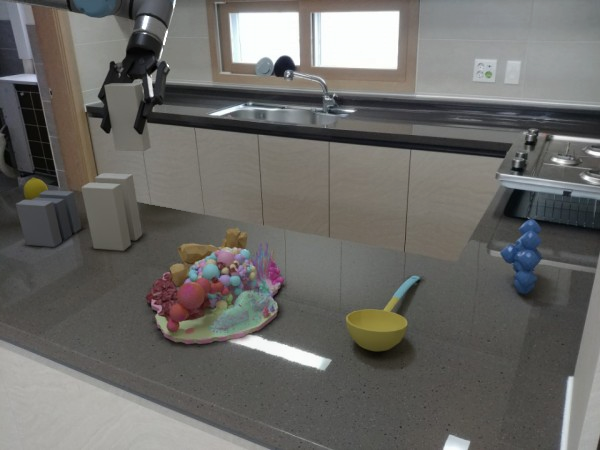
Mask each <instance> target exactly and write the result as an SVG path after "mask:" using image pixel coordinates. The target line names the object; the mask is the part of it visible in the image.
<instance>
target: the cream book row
mask: <svg viewBox="0 0 600 450" xmlns="http://www.w3.org/2000/svg"><path fill="white" fill-rule="evenodd" d="M94 179H95V182H88V183H86V184H84V185H83V186H81V193H82V198H83V202H84V207H85V208H84V209H85V214H86V218H87V223H88V227H89V228H88V229H89V233H90V238H91V242H92V247H93V249H94V250H95V249H96V250H107V251H121V252H124V251H125V250H127V249H128V248H129V247H130V246H132V243H131V241H133V242H134V241H137V240H138V239H140V238H141V237H142V236H143V230H142V224H141V217H140V212H139V206H138V199H137V194H136V188H135V181H134V174H132V173H131V174H130V173H111V172H102V173H100V174H99V175H97V176H95V177H94Z"/></svg>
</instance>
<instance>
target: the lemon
mask: <svg viewBox="0 0 600 450" xmlns="http://www.w3.org/2000/svg"><path fill="white" fill-rule="evenodd" d="M46 190H49V188H48V186H47V185H46V183H45V182H44V181H43V180H42V179H39V178H35V177H31V178H30V179H29V180H27V181H26V182H25V183H24V186H23V195H24V198H25V200H32V199H34V198H36V197H39V194H40V193H42V192H44V191H46ZM39 198H40V197H39Z"/></svg>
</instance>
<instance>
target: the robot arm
mask: <svg viewBox="0 0 600 450" xmlns="http://www.w3.org/2000/svg"><path fill="white" fill-rule="evenodd" d="M3 1H4V2H9V3H15V4H22V5H28V6H34V7H40V8H46V9H52V10H59V11H64V12H71V13H75V14H81V15H85V16H87V17H90V18H96V19H101V18H106V17H110V16H115V17H118V18H119V17H120V18H124V19H127V20H130V21H134V22H133V24H132V29H131V30H130V34H129V38H128V42H127V43H126V44H127V45H126V48H125V56H124V58H123V59H122V61H120V62H116V61H114V60H111V61H110V62H109V65H108V67H109V68H108V72H107V74H106V76H105V78H104V80H103V83H102V85H101V87H100V90H99V92H98V94H97V98H98V99H99V100H100V102H101V103H102V104H103V107H102V109H101V116H102V119H101V122H100V126H99V128H100V129H101V130H102V131H103V132H104V133H105V134H107V135H108V134H111V132H112V127H111V121H110V115H109V110H108V104H107V98H106V92H105V87H104V86H105V85H108V84H111V83H134V81H136V80H141V82H142V91H143V98H144V101H141V102H140V106H139V109H138V112H137V116H136V120H135V123H134V127H133V128H134V129H135V130H136V131H137V132H138V134H143V130H144V127H145V123H146V119H147V120H150V118H151V116H152V112H153V110H154V109H153V108H154V107H155V106H157V105H158V106H162V105H163V104H164V100H165V92H166V91H165V90H166V83H167V78H168V77H167V76H168V75H169V73H170V71H171V68H170V67H169V65H168V63H167V61H166V60H161V58H162V55H163V49H164V46H165V43H166V39H167V36H168V32H169V28H170V25H171V21H172V18H173V15H174V12H175V5H176V1H177V0H2V2H3ZM155 72H156V75H155V82H154V88H153V76H152V75H153V74H154V73H155Z"/></svg>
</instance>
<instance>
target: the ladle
mask: <svg viewBox="0 0 600 450" xmlns="http://www.w3.org/2000/svg"><path fill="white" fill-rule="evenodd" d="M419 280H421V277H420V276H418V275H412V276H410V277H409V278H408V279H407V280H405V281H404V282H403V283H402V284H401V285H400V286H399V287H398V289H397V290H396V291H395V292H394V294H393V295H392V296H391V299H390V300H389V301H388V303H387V304H386V305H385V307H384V308H383V309H374V308H373V309H371V308H366V309H358V310H354V311H352V312H349V313H348V314H347V315H346V317H345V321H346V328H347V331H348V334H349V337H351V339H352V340H353V341H354V342H355V344H357V345H358V346H359V347H361V348H362V349H364V350H367V351H371V352H384V351H388V350H391V349H392V348H394V347H395V346H397V345H398V344H400V342H402V339H403V338H404V337H405V334H406V332H407V329H408V324H409V323H408V321H407V319H406V317H404V316H402V315H400V314H398V313H396V312H392V311H393V309H394V308H395V307H396V305H397V304H398V302H399V301H400V300H401V299H402V298H403V296H404V295H405V294H406V293H407V292H408V290H409V289H410V288H411V287H412V286H413V285H414V284H415V283H417V282H418V281H419Z"/></svg>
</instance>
